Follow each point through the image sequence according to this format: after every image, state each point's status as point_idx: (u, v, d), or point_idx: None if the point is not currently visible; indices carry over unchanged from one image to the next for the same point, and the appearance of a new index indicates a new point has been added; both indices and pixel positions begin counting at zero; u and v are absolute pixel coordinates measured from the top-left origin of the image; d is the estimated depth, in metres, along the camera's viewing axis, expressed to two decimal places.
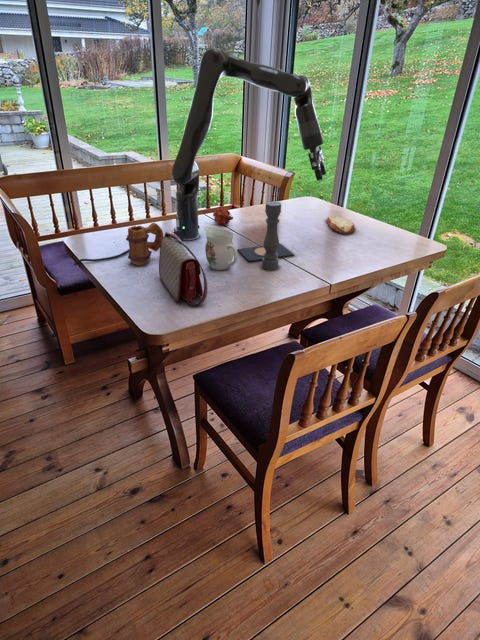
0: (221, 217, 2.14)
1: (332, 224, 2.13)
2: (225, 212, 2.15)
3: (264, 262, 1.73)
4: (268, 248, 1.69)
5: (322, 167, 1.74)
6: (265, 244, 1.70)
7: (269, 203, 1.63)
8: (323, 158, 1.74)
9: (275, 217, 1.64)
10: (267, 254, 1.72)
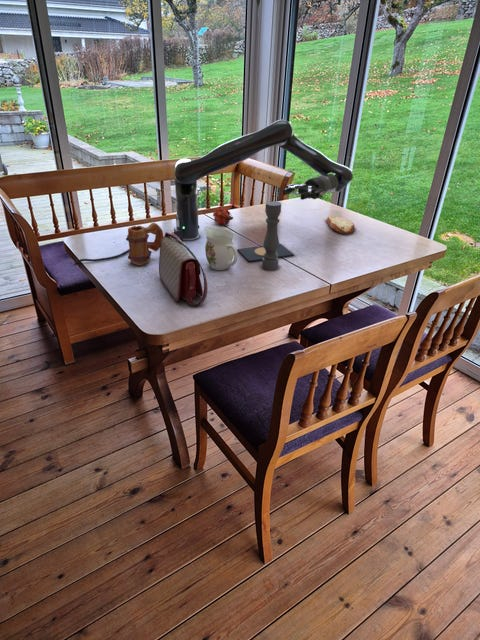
0: (221, 217, 2.14)
1: (332, 224, 2.13)
2: (225, 212, 2.15)
3: (264, 262, 1.73)
4: (268, 248, 1.69)
5: (288, 192, 1.74)
6: (265, 244, 1.70)
7: (269, 203, 1.63)
8: None
9: (275, 217, 1.64)
10: (267, 254, 1.72)
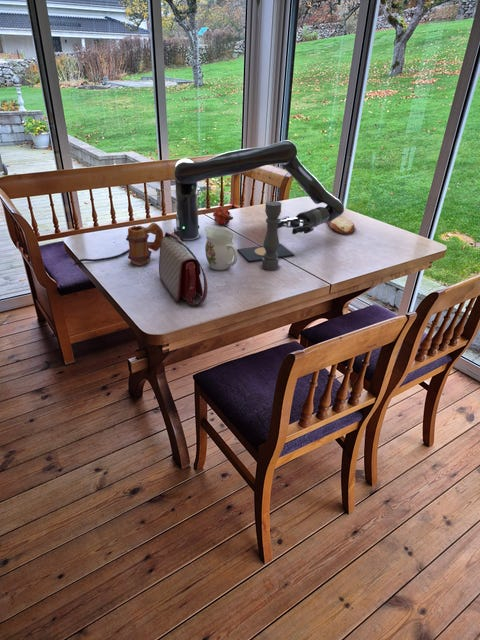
0: (221, 217, 2.14)
1: (332, 224, 2.13)
2: (225, 212, 2.15)
3: (264, 262, 1.73)
4: (268, 248, 1.69)
5: (280, 225, 1.78)
6: (265, 244, 1.70)
7: (269, 203, 1.63)
8: None
9: (275, 217, 1.64)
10: (267, 254, 1.72)
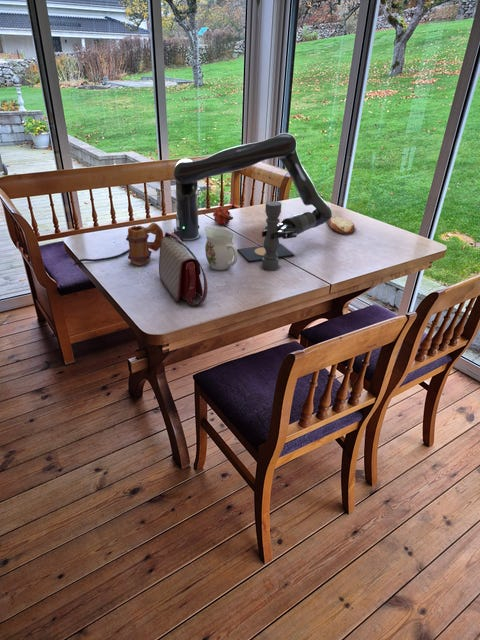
0: (221, 217, 2.14)
1: (332, 224, 2.13)
2: (225, 212, 2.15)
3: (264, 262, 1.73)
4: (268, 248, 1.69)
5: None
6: (265, 244, 1.70)
7: (269, 203, 1.63)
8: None
9: (275, 217, 1.64)
10: (267, 254, 1.72)
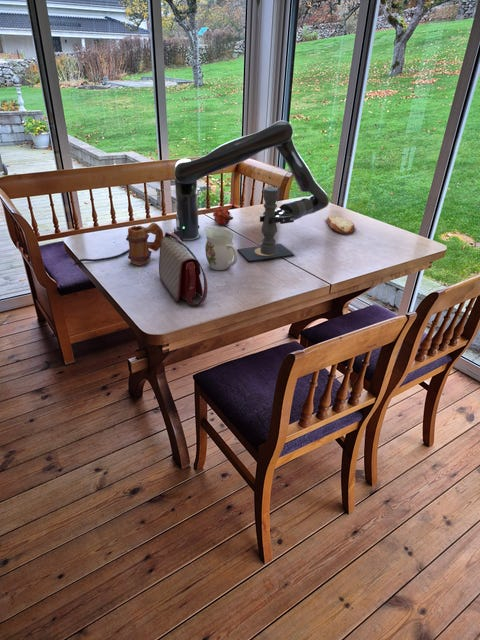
0: (221, 217, 2.14)
1: (332, 224, 2.13)
2: (225, 212, 2.15)
3: (262, 247, 1.77)
4: (266, 233, 1.73)
5: None
6: (263, 229, 1.73)
7: (267, 188, 1.67)
8: None
9: (273, 202, 1.68)
10: (265, 239, 1.76)
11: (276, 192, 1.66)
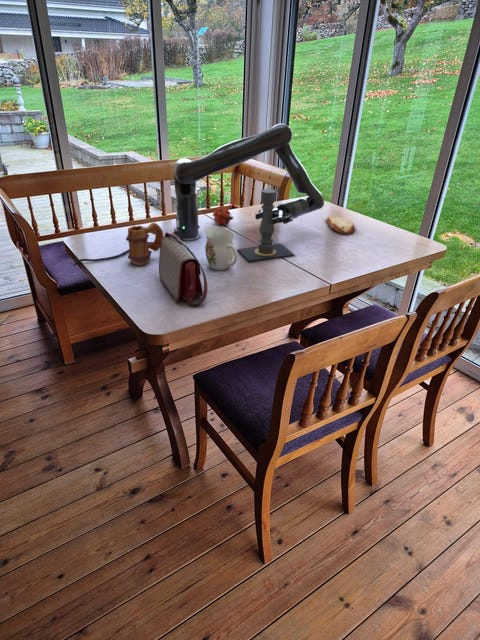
0: (221, 217, 2.14)
1: (332, 224, 2.13)
2: (225, 212, 2.15)
3: (260, 246, 1.85)
4: (264, 233, 1.81)
5: (261, 216, 1.84)
6: (261, 229, 1.81)
7: (265, 190, 1.75)
8: None
9: (270, 203, 1.76)
10: (263, 239, 1.83)
11: (273, 194, 1.74)
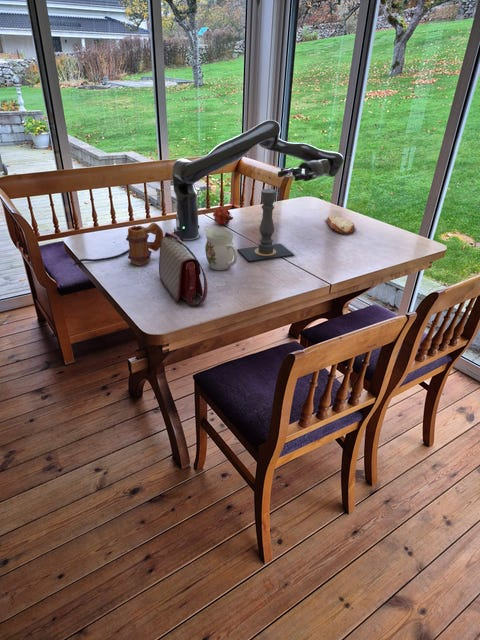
0: (221, 217, 2.14)
1: (332, 224, 2.13)
2: (225, 212, 2.15)
3: (260, 246, 1.85)
4: (264, 233, 1.81)
5: (283, 174, 1.84)
6: (261, 229, 1.81)
7: (265, 190, 1.75)
8: None
9: (270, 203, 1.76)
10: (263, 239, 1.83)
11: (273, 194, 1.74)
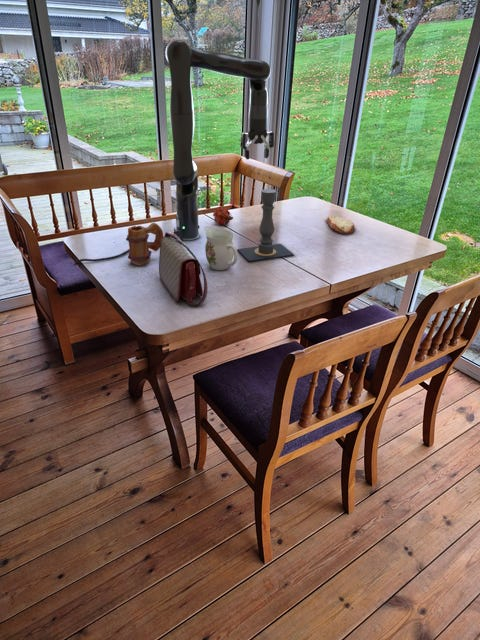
0: (221, 217, 2.14)
1: (332, 224, 2.13)
2: (225, 212, 2.15)
3: (260, 246, 1.85)
4: (264, 233, 1.81)
5: None
6: (261, 229, 1.81)
7: (265, 190, 1.75)
8: None
9: (270, 203, 1.76)
10: (263, 239, 1.83)
11: (273, 194, 1.74)
